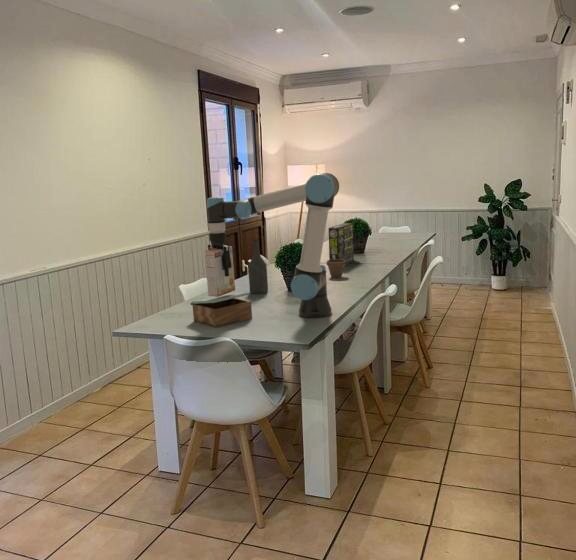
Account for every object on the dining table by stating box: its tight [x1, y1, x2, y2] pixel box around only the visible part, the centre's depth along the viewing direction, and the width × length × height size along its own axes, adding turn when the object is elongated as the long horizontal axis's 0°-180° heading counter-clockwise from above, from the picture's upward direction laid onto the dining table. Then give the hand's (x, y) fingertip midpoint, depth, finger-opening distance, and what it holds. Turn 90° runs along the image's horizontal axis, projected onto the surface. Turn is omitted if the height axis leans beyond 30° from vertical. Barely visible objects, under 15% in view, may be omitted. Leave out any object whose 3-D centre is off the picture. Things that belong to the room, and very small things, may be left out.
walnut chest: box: [190, 297, 253, 328], centre depth 268 cm, size 19×21×9 cm
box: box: [328, 222, 355, 266], centre depth 398 cm, size 34×7×27 cm, turn 157°
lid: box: [191, 291, 251, 304], centre depth 267 cm, size 18×20×1 cm
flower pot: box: [326, 259, 346, 279], centre depth 355 cm, size 12×11×10 cm
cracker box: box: [204, 245, 236, 297], centre depth 264 cm, size 14×6×21 cm, turn 151°
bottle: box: [247, 238, 269, 295], centre depth 321 cm, size 10×10×30 cm
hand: (221, 282), depth 265 cm, fingers closed on cracker box, 7 cm apart
